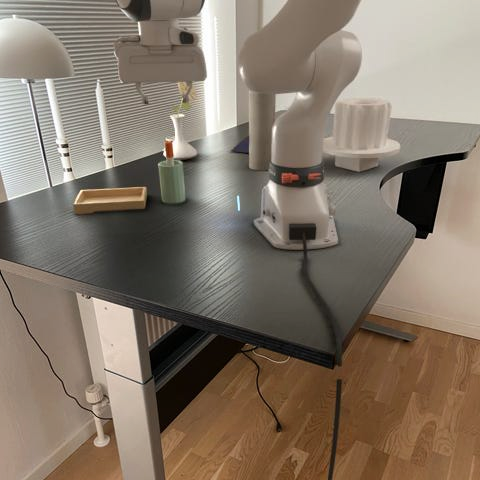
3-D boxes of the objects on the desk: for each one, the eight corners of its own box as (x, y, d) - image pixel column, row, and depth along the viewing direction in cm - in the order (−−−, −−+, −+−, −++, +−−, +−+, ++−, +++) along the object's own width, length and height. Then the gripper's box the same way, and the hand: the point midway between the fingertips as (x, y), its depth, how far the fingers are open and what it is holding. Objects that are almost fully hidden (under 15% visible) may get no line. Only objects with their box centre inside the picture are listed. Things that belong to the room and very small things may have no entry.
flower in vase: (174, 164, 157) (167, 80, 144) (158, 157, 165) (149, 77, 151) (207, 158, 163) (203, 77, 150) (190, 152, 171) (185, 74, 158)
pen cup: (186, 204, 124) (182, 165, 119) (162, 206, 123) (157, 167, 118) (185, 197, 129) (182, 159, 124) (162, 198, 129) (158, 160, 123)
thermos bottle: (275, 164, 156) (277, 67, 140) (272, 171, 149) (274, 70, 134) (251, 163, 157) (251, 67, 142) (247, 169, 150) (246, 70, 135)
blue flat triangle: (321, 136, 183) (321, 126, 180) (294, 165, 162) (294, 154, 160) (263, 131, 192) (263, 122, 189) (230, 158, 171) (229, 148, 169)
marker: (177, 200, 125) (172, 143, 117) (169, 200, 125) (164, 143, 117) (177, 197, 127) (172, 141, 119) (170, 198, 127) (164, 141, 119)
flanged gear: (412, 166, 151) (424, 101, 141) (364, 182, 137) (373, 111, 127) (349, 152, 167) (355, 93, 157) (300, 165, 153) (304, 102, 143)
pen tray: (145, 210, 121) (143, 200, 120) (75, 214, 119) (72, 204, 118) (147, 196, 130) (146, 186, 129) (82, 199, 129) (80, 190, 127)
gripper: (110, 37, 102) (120, 106, 110) (205, 35, 104) (208, 103, 112) (113, 36, 108) (122, 102, 115) (204, 34, 109) (207, 99, 117)
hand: (165, 103), depth 114 cm, fingers open, 8 cm apart
